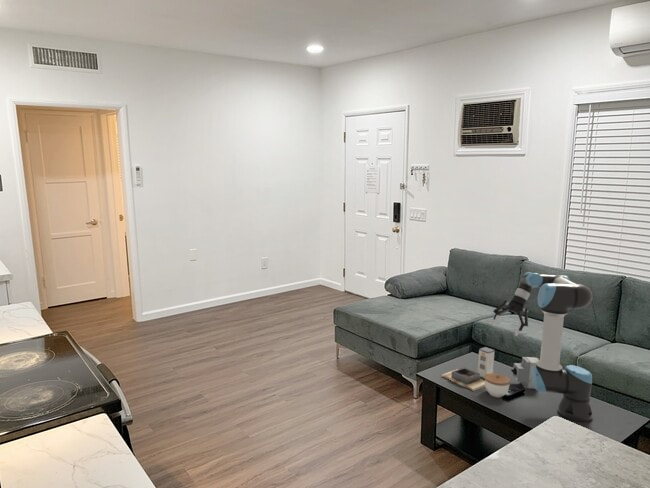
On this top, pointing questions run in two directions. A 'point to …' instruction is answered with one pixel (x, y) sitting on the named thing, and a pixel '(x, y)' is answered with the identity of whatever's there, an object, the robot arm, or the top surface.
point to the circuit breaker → (525, 371)
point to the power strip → (485, 361)
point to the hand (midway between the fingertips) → (504, 330)
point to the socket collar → (459, 374)
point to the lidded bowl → (496, 384)
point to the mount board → (471, 386)
